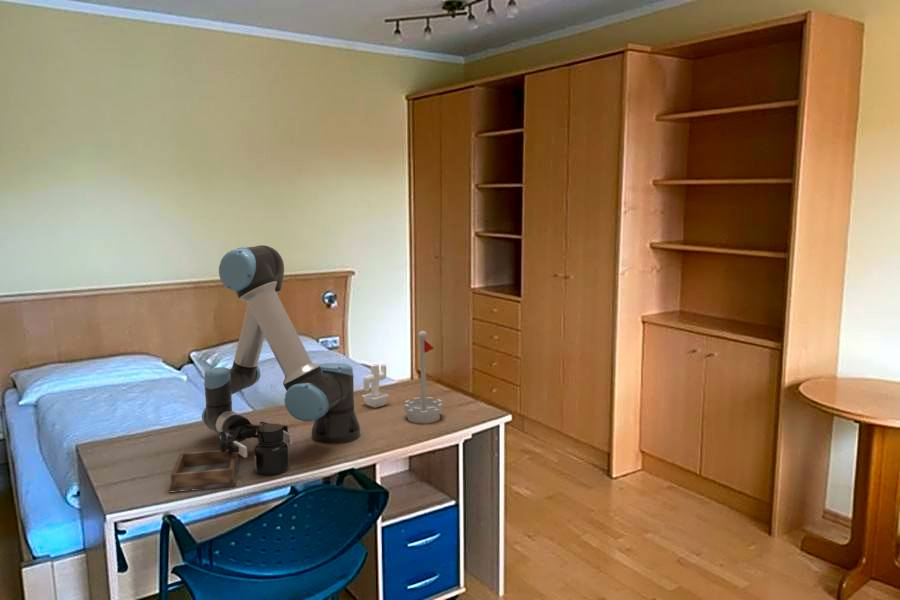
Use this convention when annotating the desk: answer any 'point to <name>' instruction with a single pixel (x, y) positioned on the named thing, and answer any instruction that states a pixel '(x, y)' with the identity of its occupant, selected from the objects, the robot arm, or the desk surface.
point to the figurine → (375, 387)
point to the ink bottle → (271, 450)
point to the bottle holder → (205, 470)
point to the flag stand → (423, 394)
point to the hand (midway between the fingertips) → (269, 445)
